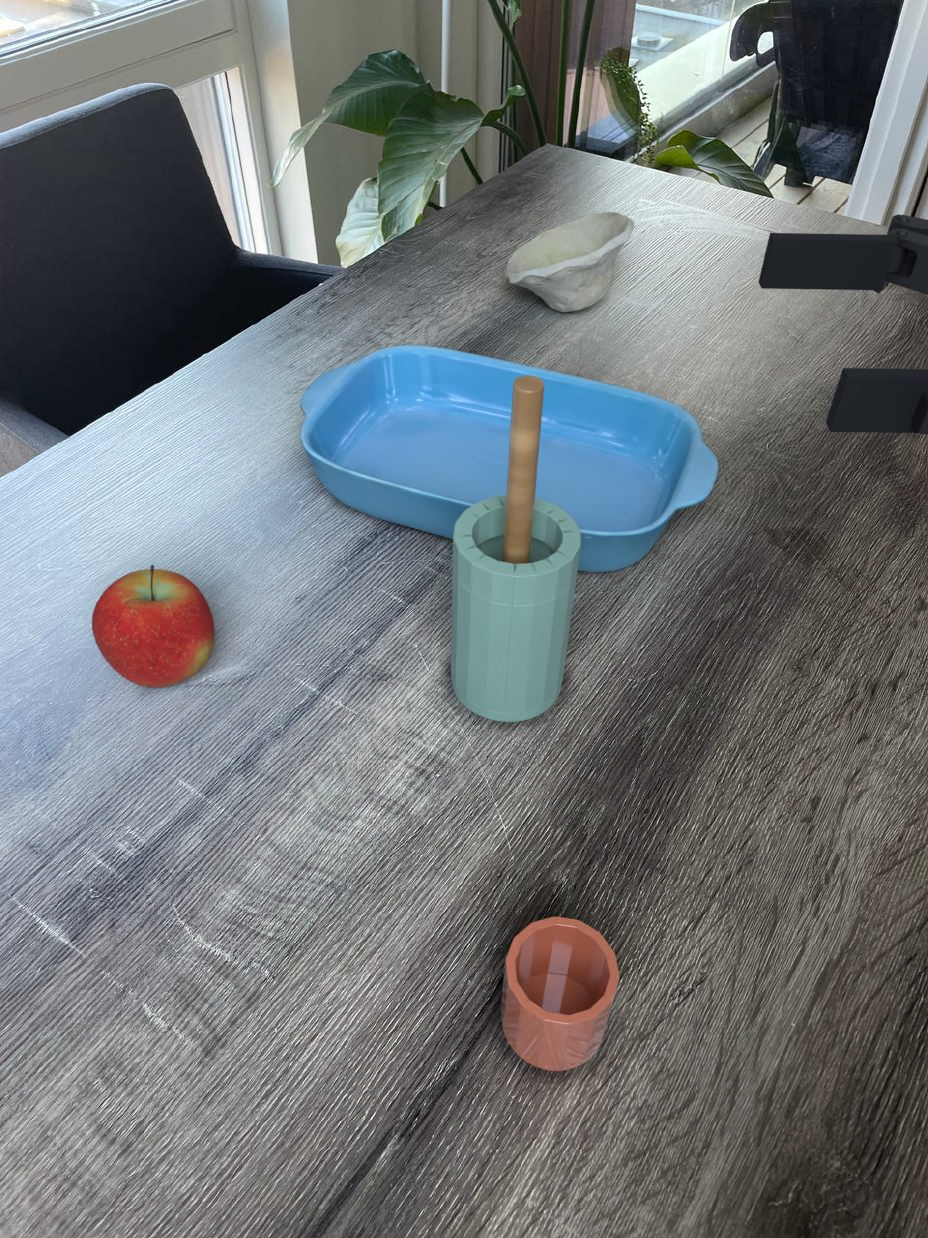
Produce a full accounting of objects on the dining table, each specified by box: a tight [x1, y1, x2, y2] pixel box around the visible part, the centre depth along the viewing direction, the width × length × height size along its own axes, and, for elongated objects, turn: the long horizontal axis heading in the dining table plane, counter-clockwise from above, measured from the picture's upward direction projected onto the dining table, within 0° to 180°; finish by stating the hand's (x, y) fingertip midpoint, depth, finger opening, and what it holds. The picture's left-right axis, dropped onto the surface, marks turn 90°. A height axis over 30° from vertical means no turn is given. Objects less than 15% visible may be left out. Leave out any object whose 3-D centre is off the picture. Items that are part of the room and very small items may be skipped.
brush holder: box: [500, 916, 620, 1072], centre depth 54 cm, size 6×6×6 cm
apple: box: [91, 564, 216, 689], centre depth 71 cm, size 8×8×10 cm
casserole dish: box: [299, 344, 719, 573], centre depth 88 cm, size 37×22×7 cm, turn 69°
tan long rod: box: [502, 376, 545, 564], centre depth 65 cm, size 4×4×24 cm
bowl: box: [503, 211, 635, 313], centre depth 114 cm, size 15×14×10 cm
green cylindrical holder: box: [450, 496, 581, 723], centre depth 69 cm, size 8×8×14 cm
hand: (796, 323), depth 48 cm, fingers open, 13 cm apart
